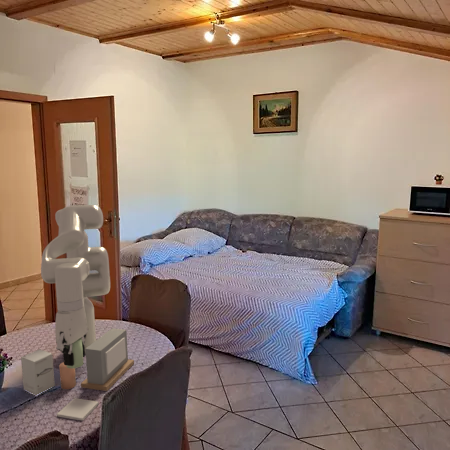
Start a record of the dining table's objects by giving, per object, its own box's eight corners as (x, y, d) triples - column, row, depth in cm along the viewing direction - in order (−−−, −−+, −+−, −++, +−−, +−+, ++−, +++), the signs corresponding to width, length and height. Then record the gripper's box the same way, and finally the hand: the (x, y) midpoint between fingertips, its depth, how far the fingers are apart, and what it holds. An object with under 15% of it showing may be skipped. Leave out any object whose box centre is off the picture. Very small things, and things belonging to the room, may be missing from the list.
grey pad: (57, 416, 131) (56, 414, 131) (74, 400, 139) (74, 398, 139) (82, 420, 128) (82, 418, 128) (98, 404, 137) (98, 401, 137)
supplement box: (36, 397, 141) (33, 362, 139) (23, 391, 145) (20, 356, 143) (55, 387, 147) (53, 353, 145) (42, 381, 151) (39, 348, 149)
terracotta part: (57, 388, 147) (56, 366, 145) (66, 381, 151) (65, 360, 150) (70, 390, 145) (68, 368, 144) (79, 382, 150) (77, 361, 149)
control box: (81, 387, 147) (78, 349, 145) (110, 360, 166) (108, 326, 164) (106, 391, 144) (104, 352, 142) (134, 363, 164) (132, 329, 161)
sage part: (63, 367, 129) (61, 342, 128) (72, 360, 134) (71, 336, 133) (77, 369, 128) (75, 344, 127) (86, 361, 133) (85, 337, 132)
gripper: (76, 294, 137) (80, 347, 140) (41, 313, 121) (46, 372, 124) (97, 296, 135) (100, 350, 138) (63, 315, 119) (68, 375, 122)
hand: (74, 360), depth 131 cm, fingers closed on sage part, 5 cm apart
